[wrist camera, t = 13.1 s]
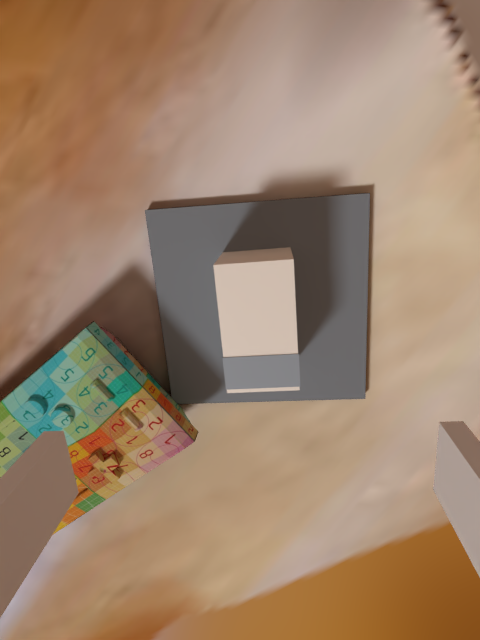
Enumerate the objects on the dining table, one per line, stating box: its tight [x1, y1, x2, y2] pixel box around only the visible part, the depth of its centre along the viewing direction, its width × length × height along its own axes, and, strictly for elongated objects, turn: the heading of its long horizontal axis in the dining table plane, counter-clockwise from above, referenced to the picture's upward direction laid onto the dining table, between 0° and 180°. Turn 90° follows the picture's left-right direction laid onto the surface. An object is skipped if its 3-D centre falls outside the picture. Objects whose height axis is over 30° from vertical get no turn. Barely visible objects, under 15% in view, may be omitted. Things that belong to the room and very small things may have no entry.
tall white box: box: [213, 247, 300, 393], centre depth 29 cm, size 9×5×5 cm, turn 5°
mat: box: [145, 193, 370, 404], centre depth 32 cm, size 16×16×1 cm
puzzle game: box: [0, 321, 198, 534], centre depth 34 cm, size 12×5×20 cm
